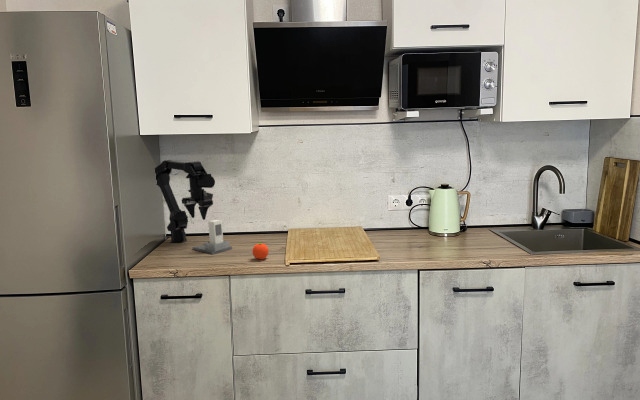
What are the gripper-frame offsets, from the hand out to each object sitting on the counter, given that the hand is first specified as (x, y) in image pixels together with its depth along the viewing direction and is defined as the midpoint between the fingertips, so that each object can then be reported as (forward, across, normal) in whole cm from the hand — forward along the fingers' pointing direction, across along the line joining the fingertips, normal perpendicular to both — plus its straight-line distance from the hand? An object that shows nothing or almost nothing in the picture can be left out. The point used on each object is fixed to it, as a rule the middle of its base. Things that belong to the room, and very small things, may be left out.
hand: (198, 218), depth 242 cm
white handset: (+12, -18, +3) cm, 21 cm away
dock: (+13, -14, +3) cm, 19 cm away
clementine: (+13, -46, +1) cm, 48 cm away
